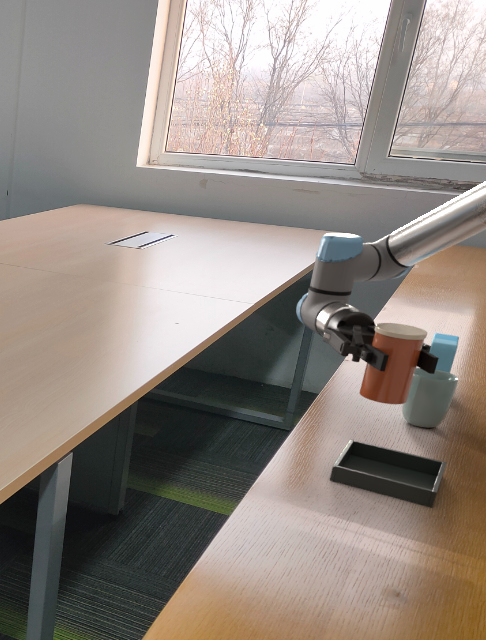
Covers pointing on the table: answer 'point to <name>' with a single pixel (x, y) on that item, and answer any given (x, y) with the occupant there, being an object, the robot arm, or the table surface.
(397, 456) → the tray
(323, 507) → the table surface
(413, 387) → the cup
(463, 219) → the robot arm
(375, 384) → the orange lidded canister
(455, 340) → the blue upright block
